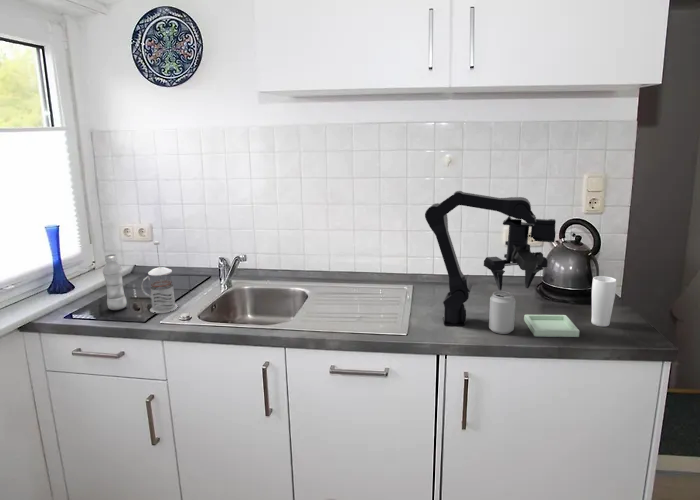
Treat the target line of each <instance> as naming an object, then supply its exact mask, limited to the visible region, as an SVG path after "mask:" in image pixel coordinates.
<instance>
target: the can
mask: <svg viewBox="0 0 700 500" xmlns="http://www.w3.org/2000/svg"><path fill="white" fill-rule="evenodd" d="M488 311H489V313H488V317H489V318H488V328H489V330H491V331H492V332H493V333H495V334H499V335H507V334H511V332H513V331H514V329H515V318H516V317H515V313H516V298H515V297H514V294H513V293H512V292H510V291H505V290H504V291H503V290H498V291H494V292H492V295H491V296H490V298H489V310H488Z"/></svg>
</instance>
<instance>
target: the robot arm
mask: <svg viewBox="0 0 700 500" xmlns="http://www.w3.org/2000/svg"><path fill="white" fill-rule="evenodd" d="M458 206H465V207H470V208H477V209H481V210H487V211H492V212H493V211H495V212H499V213H501V214H503V215H505V216H508V217H507V218H505V219H504V220H503V221H502V225H503V226H508V232H507V233H508V236H507V238H508V239H507V240H505V245H506V246H507V247H506V248H507V249H506V253H504V254H503V255H504V257H503V258H505V259H502V258H500V257H499V256H498V257H497V256H487V257H485V259H484V260H483V267H485V268H486V269H488V270H490V271H491V273H492V275H493V277H494V280H495V284H496V286H497V289H498V291H502V289H503V277H504V276H503V275H504V274H505V272H506V271H505V270H504V269H505V267H509V266H511V267H512V266H518V267H519V269H520V270H522V271H524V284H525V285H524V286H525V288H526V289H529V288H530V286H531V284H532V282H533V281H534V278H535V276H536V274H537V273H539V272H540V271H543V270H544V268H548V267H549V261H548V259H547V257H545V256H544V254H543V252H542V251H538V252H531V244H529V243H528V241H529V231H530V238H531V239H532V240H533V241H534V242H540V243H552V244H553V243H555V240H556V219H555V218H554V219H553V218H549V219H547V218H546V219H544V218H537V217H536V215H535V214H534V213H533V211H532V207H531V206H532V205H531V201H529V200H528V198H526V197H525V196H523V197H521V196H511V197H495V196H489V195H483V194H478V193H477V194H476V193H470V192H464V191H462V190H456V191H455V192H453V193H452V194H451V195H450V196H449V197H446V199H444V200H443V201H442V202H441V201H440V203H439V202H438V203H434V204H432V205H431V206H429V207H428V208H427V209H426V210H425V213H424V217H425V218H424V219H425V220H426V223H427V225H428V226H429V228H430V229H431V231H432V232H433V234H434V235H435V236H436V237H435V238H436V241H437V244H438V247H439V250H440V253H441V255H442V260H443V262H444V266H445V269H446V272H447V275H448V288H449V292H447V294H446V295H445V297H444V300H443V302H442V304H443V316H442V322H443V325H444V326H451V327H452V326H456V327H457V326H458V327H459V326H461V327H462V326H463V327H464V326H466V325H465V324H466V320H467V319H466V318H467V310H466V308H465V304H464V303H466V302H467V301H468V299H469V298H470V295H471V291H472V287H473V284H472V283H471V282H470V281H471V280H470V276H469V274H466V275H464V273H463V272H462V270H461V267H460V264H459V261H458V258H457V254H456V251H455V248H454V244H453V241H452V239H451V235H450V232H449V224H448V223H449V222H448V221H449V220H448V213H450V212H451V211H453V210H454V209H456V208H457V207H458ZM522 220H523V221H522ZM530 228H531V230H530Z"/></svg>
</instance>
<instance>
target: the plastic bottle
mask: <svg viewBox="0 0 700 500" xmlns="http://www.w3.org/2000/svg"><path fill="white" fill-rule="evenodd" d="M104 259H105V261H104V262H106V263H105V265H104V266H103V268H102V275H103V277H104V278H103V279H104V281H105V285H106V293H107V295H106V297H107V298H106V304H107V307H108V309H109V310H111V311H119V310H120V311H121V310H123V309H125V308H126V306H127V297H126V296H125V292H124V291H125V290H124V286H123V285H124V284H123V268H122V266H121V265H120V264H119V262H117V261H118V259H117V255H116V254H114V253H113V254H107V255H104Z"/></svg>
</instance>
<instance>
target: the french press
mask: <svg viewBox="0 0 700 500" xmlns="http://www.w3.org/2000/svg"><path fill="white" fill-rule="evenodd" d="M153 244H154V245H155V246H156V251H157V254H159V248H158V246H159V245H160V244H161V243H160V241H158V240H155V241H154V242H153ZM157 259H158V262H160V258H159V255H157ZM172 272H173V270H172V269H170V268H168V267H166V266H165V267H164V266H161V265H160V263H158V267H155V268H152V269H151V270H150V271H148V272H147V274H148V275H147V276H146V277H144V278H143V280H142V282H141V285H140V289H141V291H142V293H143V295H145V296H146V297H148V298H150V301H151V308H150V309H149V312H151V313H154V312H156V313H154V314H165V313H169V312H170V311H171V312H174V311H176V310H177V309H178V308H179V306H177V305H178V304H176V300H175V290H174V284H172V283H173V282H172V280H170V279H162V276H167V275H170V274H171V273H172ZM151 277H159V278H160V279H159V280H154V281H152V282H151V283H150V285H151V287H150V294H148V293H147V292H146V291H145V289H144V285H143V283H144V282H145V280H147V279H148V281H149V282H150V281H151ZM177 307H178V308H177ZM176 308H177V309H176ZM175 309H176V310H175ZM173 310H174V311H173Z"/></svg>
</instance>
